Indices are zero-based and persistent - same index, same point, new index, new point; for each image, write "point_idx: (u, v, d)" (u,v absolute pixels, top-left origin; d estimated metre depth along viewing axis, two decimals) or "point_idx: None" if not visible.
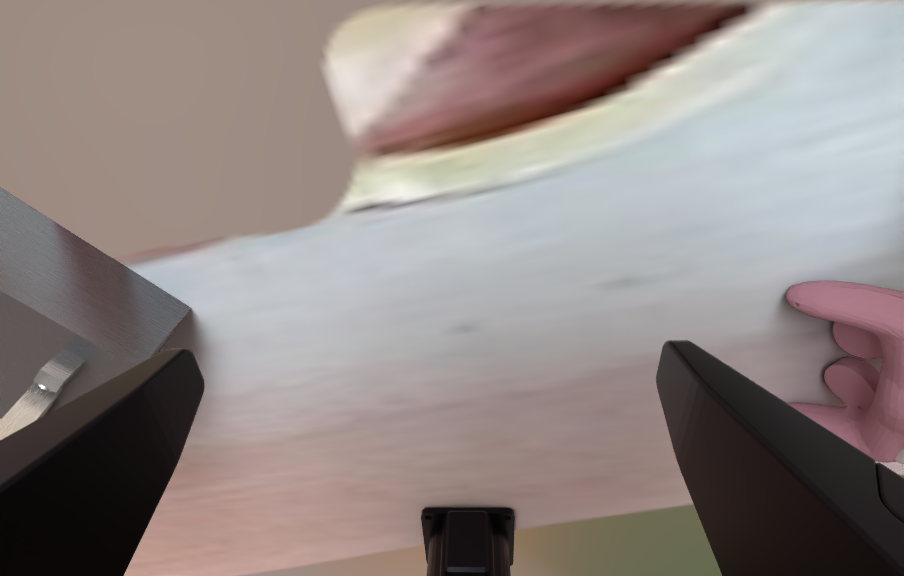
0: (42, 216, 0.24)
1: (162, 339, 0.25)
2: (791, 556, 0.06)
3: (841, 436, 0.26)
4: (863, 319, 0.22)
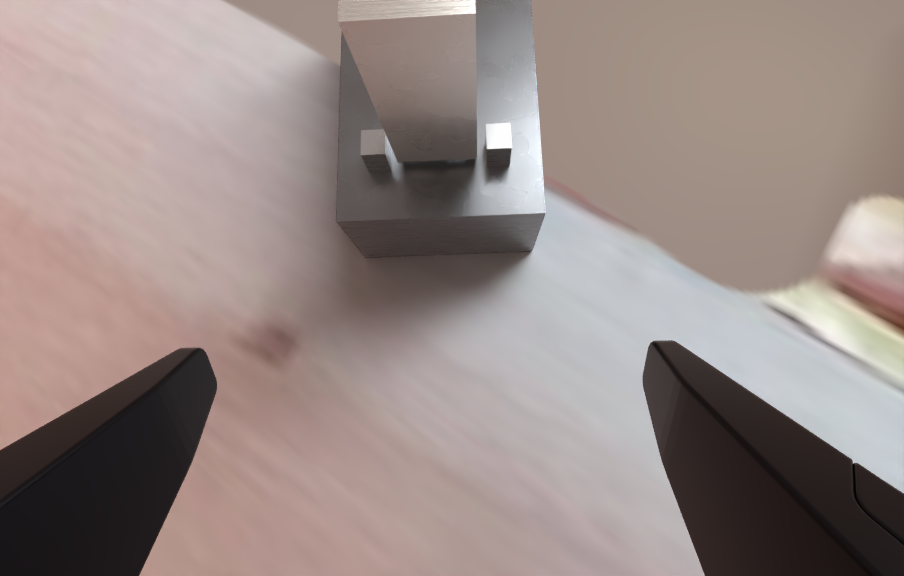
0: None
1: None
2: (769, 556, 0.06)
3: None
4: None
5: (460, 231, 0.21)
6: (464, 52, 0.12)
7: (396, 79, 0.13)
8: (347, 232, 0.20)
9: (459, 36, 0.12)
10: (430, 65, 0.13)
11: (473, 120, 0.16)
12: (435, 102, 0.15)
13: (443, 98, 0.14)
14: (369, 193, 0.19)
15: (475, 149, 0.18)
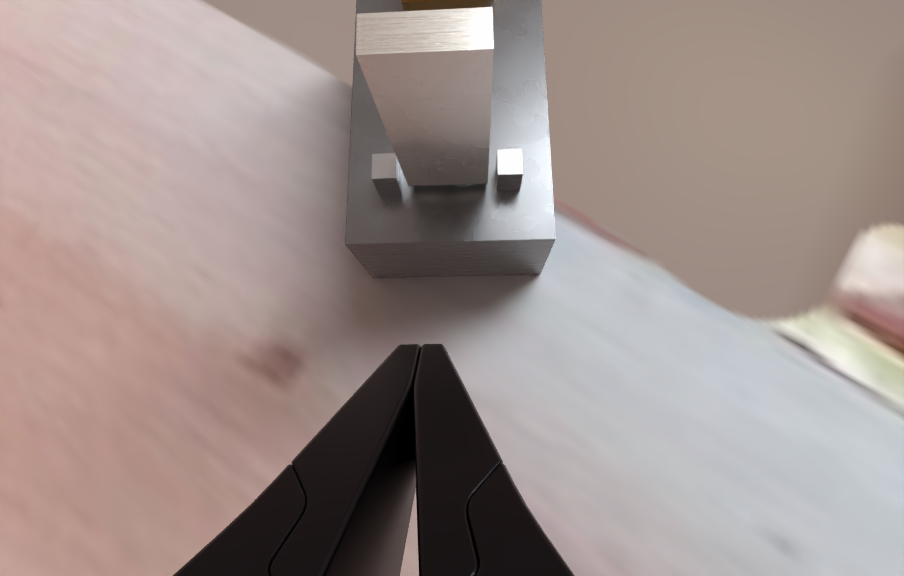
0: None
1: (547, 254, 0.21)
2: None
3: None
4: None
5: (469, 254, 0.21)
6: (480, 84, 0.12)
7: (410, 108, 0.13)
8: (356, 254, 0.20)
9: (476, 70, 0.12)
10: (445, 96, 0.13)
11: (485, 147, 0.16)
12: (448, 131, 0.15)
13: (457, 127, 0.14)
14: (379, 216, 0.19)
15: (486, 175, 0.18)
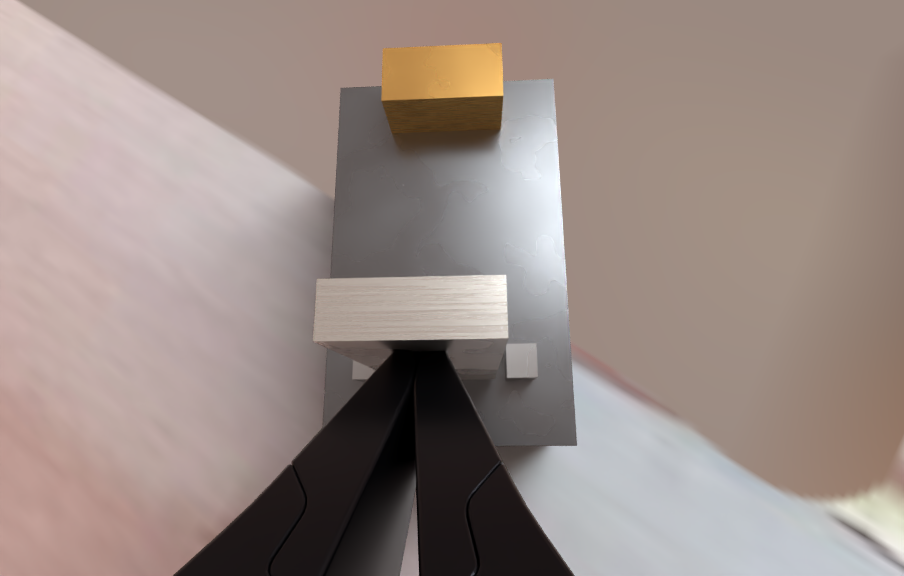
0: None
1: None
2: None
3: None
4: None
5: None
6: (488, 350, 0.09)
7: None
8: None
9: (483, 345, 0.08)
10: None
11: (492, 369, 0.12)
12: None
13: (456, 363, 0.11)
14: None
15: (493, 377, 0.15)
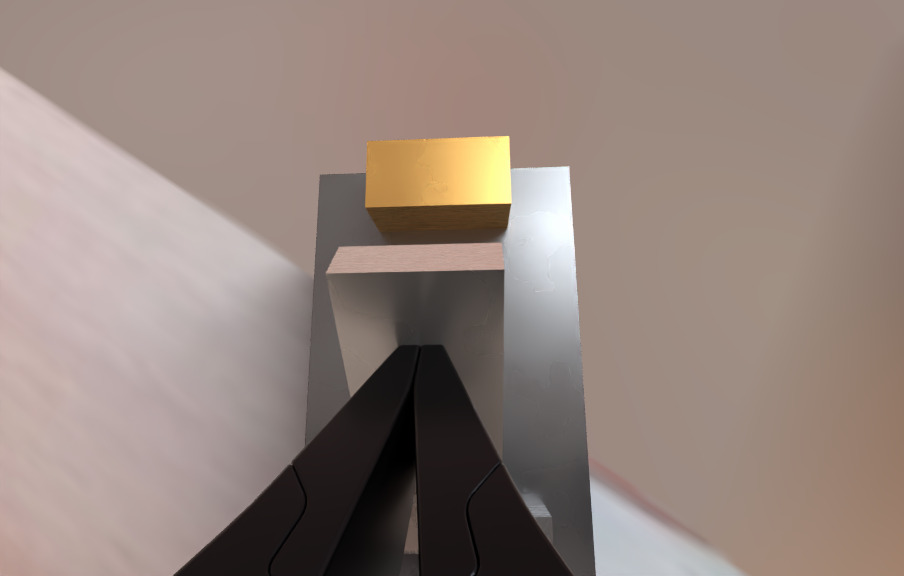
0: None
1: None
2: None
3: None
4: None
5: None
6: (488, 336, 0.09)
7: None
8: None
9: (482, 308, 0.09)
10: None
11: None
12: None
13: None
14: None
15: None
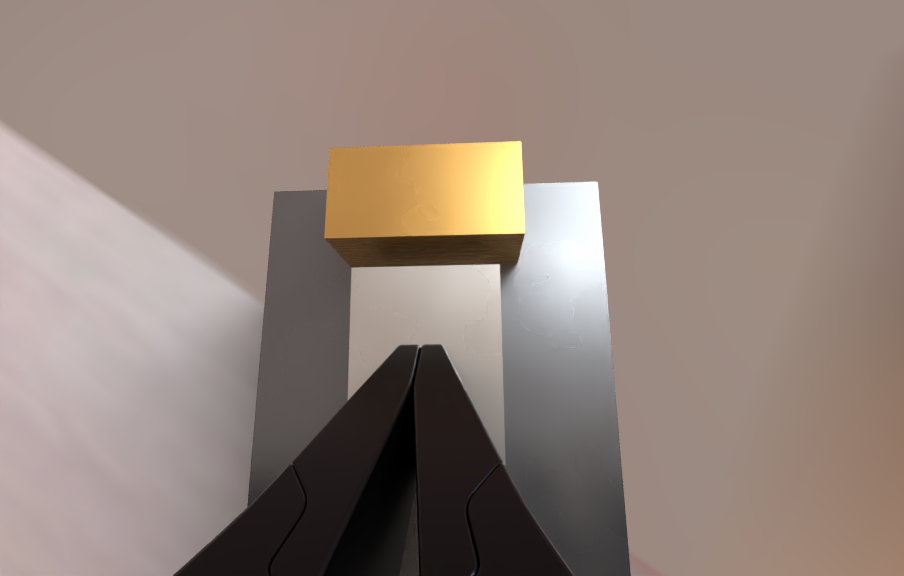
0: None
1: None
2: None
3: None
4: None
5: None
6: (487, 333, 0.10)
7: None
8: None
9: (481, 301, 0.10)
10: None
11: None
12: None
13: None
14: None
15: None
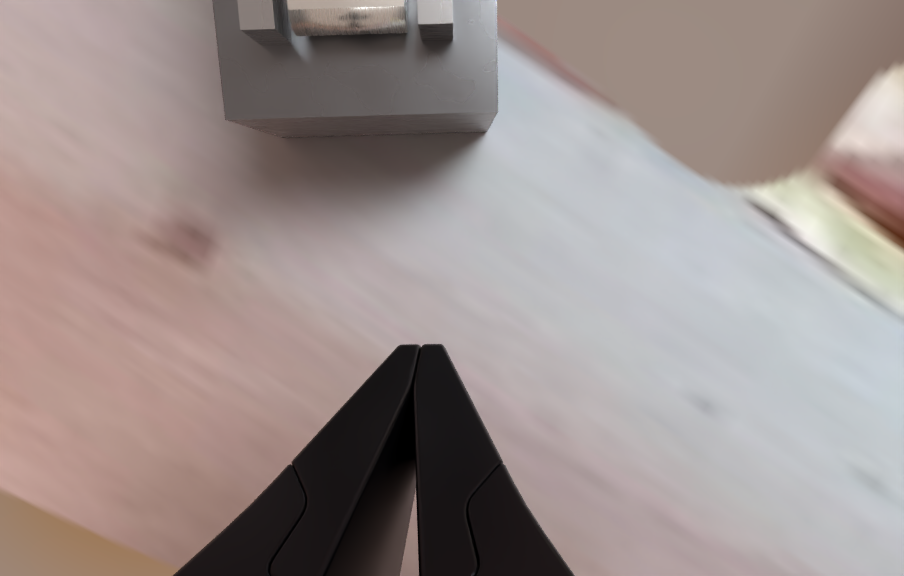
0: None
1: None
2: None
3: None
4: None
5: (393, 122, 0.16)
6: None
7: None
8: (247, 125, 0.16)
9: None
10: None
11: None
12: None
13: None
14: (265, 78, 0.14)
15: None
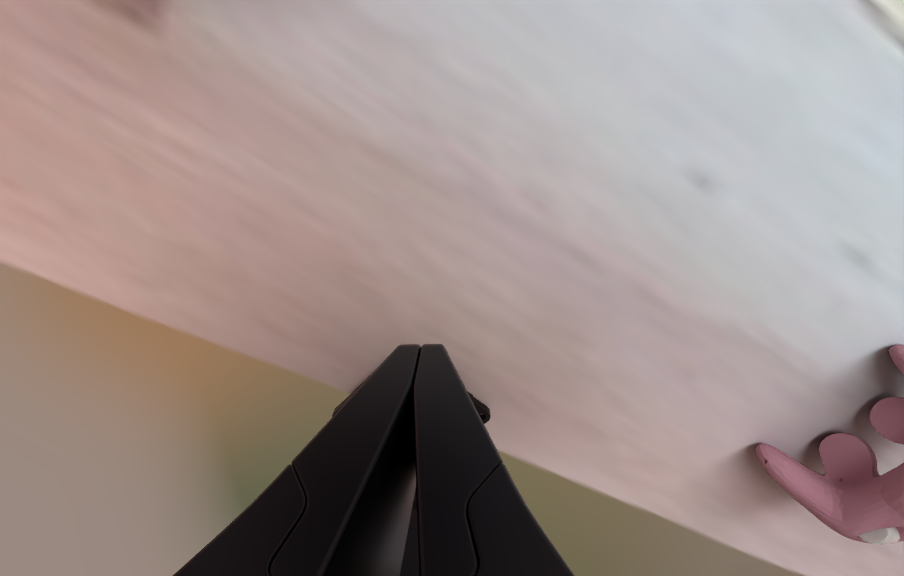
0: None
1: None
2: None
3: (820, 495, 0.26)
4: None
5: None
6: None
7: None
8: None
9: None
10: None
11: None
12: None
13: None
14: None
15: None
